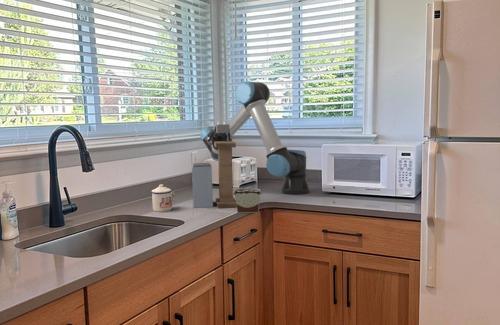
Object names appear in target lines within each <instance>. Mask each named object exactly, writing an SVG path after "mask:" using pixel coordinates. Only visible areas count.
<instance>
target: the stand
mask: <svg viewBox="0 0 500 325" xmlns="http://www.w3.org/2000/svg"><path fill="white" fill-rule="evenodd" d="M236 145H237V144H236V142H235V141H233V140H232V141H216V142H214V146H215V147H216V148H218V161H217V163H218V198H217V197H216V198H215V204H216V207H217V209H229V208H230V209H231V208H237V206H236V199H235V197H234V180H233V178H234V177H233V174H234V173H233V171H234V170H233V148H236V147H237V146H236Z"/></svg>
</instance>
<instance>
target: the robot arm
mask: <svg viewBox="0 0 500 325" xmlns="http://www.w3.org/2000/svg"><path fill="white" fill-rule="evenodd" d="M270 96H271V92H270V88H269V87H268V86H267V85H266V84H265V83H263V82H259V81H258V82H256V81H254V82H253V81H251V80H249V81H248V80H247V81H243V82H242V81H241V83H240V84H238V86H237V87H236V90H235V99H236V100H237V102H238V103H239V104H241V105H243V106H241V108H240V109H239V110H238V111H237V112H236V113H235V114H234V115H233V116H232V117H231V119H230V120H229V121H228V122H227V123H226V122H225V121H223V123H222V124H229V128H230V133H216V125H215V126H214V129H212V128H210V127H206V128H204V129H202V130H201V131H200V132H199V137H200V138H201V141H202V142H203V143H204V145H205V146H206V147H207V149H208V152H209V153H210V157H211V160H213V161H215V162H218V148H216V147H215V146H214V142H216V141H233V138H234V135H236V133H237V132H238V131H239V130H240V129H241V127H243V126H244V125H245V124H246V122H247V121H249V119H250V118H252V120H253V122H254V125H255V127H256V130H257V132H258V134H259V135H260V139H261V141H262V143H263V145H264V148H265V150H266V152H267V153H266V155H265V156H266V170H267V171H268V173H269V174H270V175H272V176H273V177H277V178H280V177H281V178H282V177H284V179H283V183H282V186H281V192H282V193H283V194H287V195H303V194H308V193H310V186H309V183H308V180H307V154H306V153H307V152H306V151H305V150H303V149H302V150H301V149H288V147H287V146H285V145H283V144H282V143H283V142H281V139H280V137H279V135H278V132H277V130H276V128H275V126H274V123H273V121H272V119H271V117H270V114H269V113H268V110H267V108H266V106H265V105H266V104H267V102H268V101H269V99H270ZM216 123H217V124H220V122H219V121H217V122H216Z"/></svg>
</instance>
